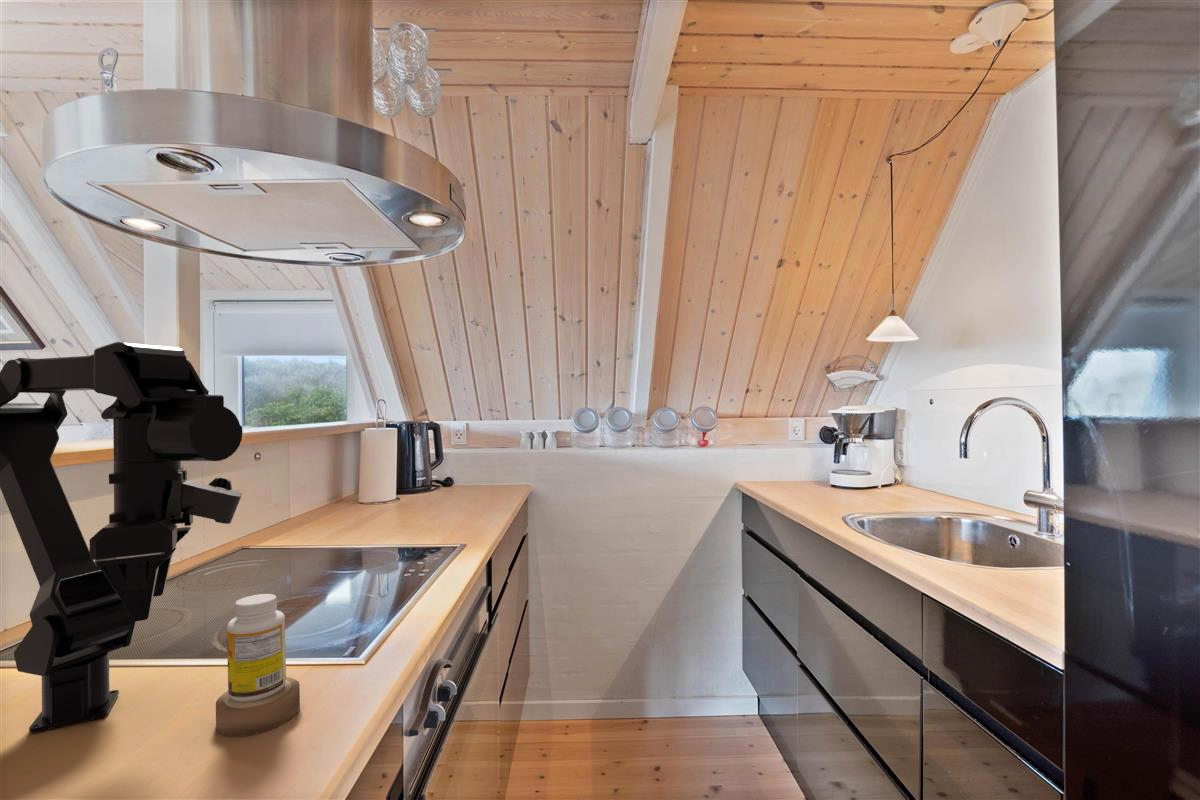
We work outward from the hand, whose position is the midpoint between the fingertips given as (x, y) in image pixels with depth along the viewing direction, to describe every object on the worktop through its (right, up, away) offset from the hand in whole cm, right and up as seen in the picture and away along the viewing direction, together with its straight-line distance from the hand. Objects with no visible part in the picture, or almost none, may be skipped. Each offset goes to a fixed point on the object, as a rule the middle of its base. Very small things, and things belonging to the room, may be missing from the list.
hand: (149, 607), depth 63 cm
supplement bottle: (+10, -10, +2) cm, 15 cm away
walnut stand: (+10, -13, +2) cm, 17 cm away
